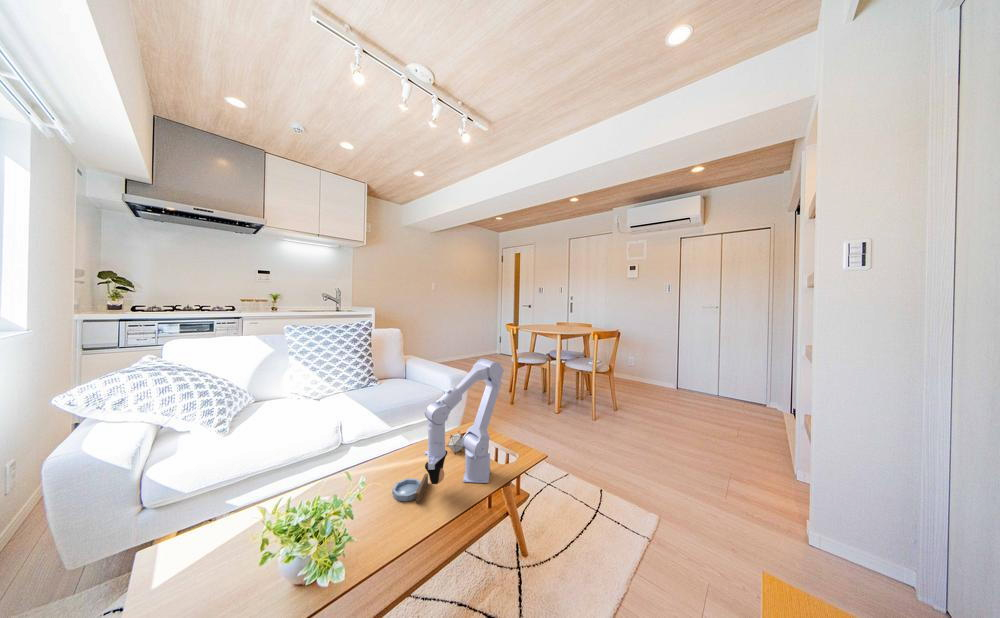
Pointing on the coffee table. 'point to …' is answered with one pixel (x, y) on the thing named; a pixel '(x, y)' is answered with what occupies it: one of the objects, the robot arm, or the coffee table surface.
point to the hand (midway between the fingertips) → (436, 478)
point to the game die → (456, 442)
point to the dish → (405, 489)
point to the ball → (440, 475)
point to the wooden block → (421, 488)
